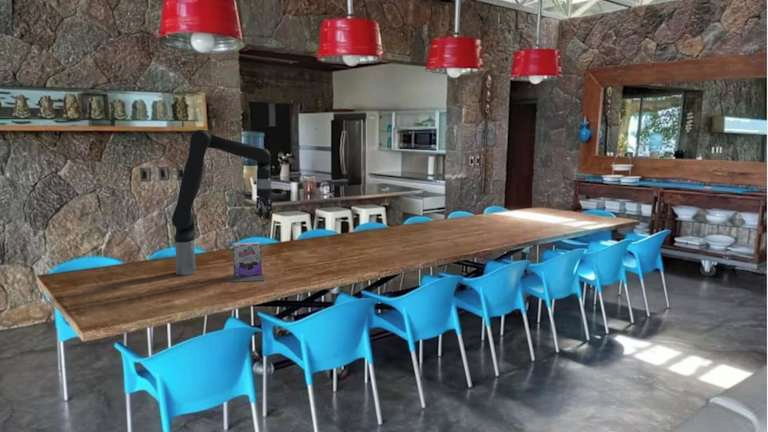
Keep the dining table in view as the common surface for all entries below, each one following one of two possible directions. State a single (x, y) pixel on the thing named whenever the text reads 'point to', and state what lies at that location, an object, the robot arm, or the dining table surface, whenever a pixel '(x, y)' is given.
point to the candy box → (247, 259)
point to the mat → (246, 278)
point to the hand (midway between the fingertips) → (264, 218)
